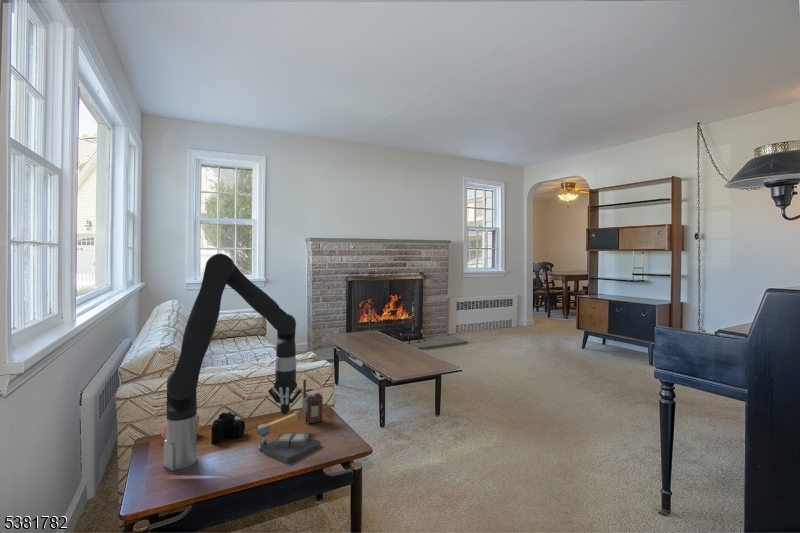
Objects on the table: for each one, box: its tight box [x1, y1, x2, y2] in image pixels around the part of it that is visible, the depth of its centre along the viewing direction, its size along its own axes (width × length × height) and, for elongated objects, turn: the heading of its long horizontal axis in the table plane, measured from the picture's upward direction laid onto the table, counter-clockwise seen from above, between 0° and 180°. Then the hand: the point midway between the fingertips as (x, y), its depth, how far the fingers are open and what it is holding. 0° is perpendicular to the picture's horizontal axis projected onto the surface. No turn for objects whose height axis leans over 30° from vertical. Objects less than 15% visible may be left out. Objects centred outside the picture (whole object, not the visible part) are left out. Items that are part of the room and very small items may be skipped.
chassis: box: [259, 431, 322, 464], centre depth 150 cm, size 16×15×4 cm
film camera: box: [210, 411, 246, 445], centre depth 160 cm, size 15×10×9 cm, turn 177°
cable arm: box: [257, 410, 301, 436], centre depth 157 cm, size 20×4×3 cm, turn 146°
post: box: [257, 434, 268, 450], centre depth 151 cm, size 4×4×5 cm
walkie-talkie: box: [301, 379, 324, 425], centre depth 173 cm, size 9×4×20 cm, turn 113°
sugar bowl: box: [160, 414, 202, 440], centre depth 160 cm, size 12×14×10 cm
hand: (285, 413), depth 151 cm, fingers closed
